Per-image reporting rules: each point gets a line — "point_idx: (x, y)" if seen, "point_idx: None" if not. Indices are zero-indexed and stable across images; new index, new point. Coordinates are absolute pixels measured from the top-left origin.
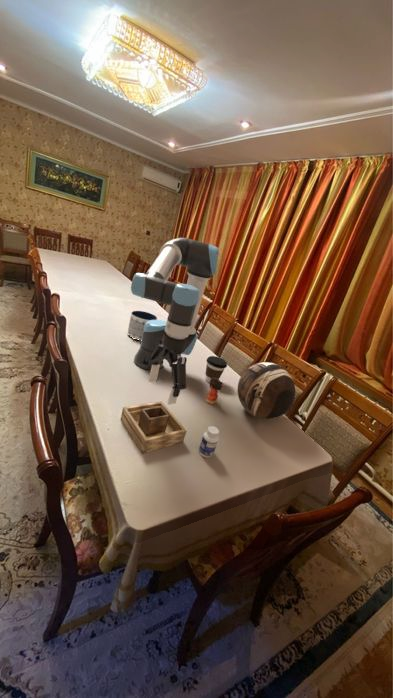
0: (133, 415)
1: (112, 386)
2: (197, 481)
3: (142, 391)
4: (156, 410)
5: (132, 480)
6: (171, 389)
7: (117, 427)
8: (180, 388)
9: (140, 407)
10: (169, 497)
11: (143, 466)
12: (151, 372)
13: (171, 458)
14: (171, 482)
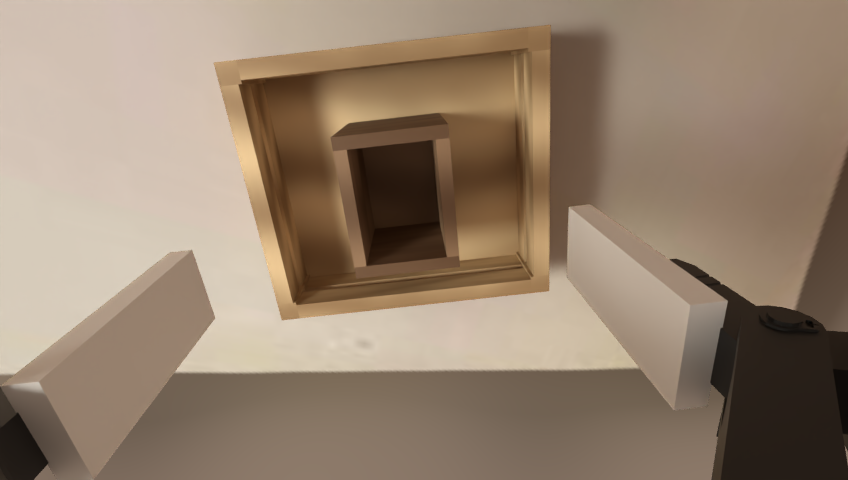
0: (296, 239)
1: (2, 258)
2: (761, 92)
3: (17, 90)
4: (353, 171)
5: None
6: (654, 376)
7: None
8: None
9: (276, 225)
10: (753, 237)
11: None
12: (156, 392)
13: (600, 150)
14: (705, 204)
